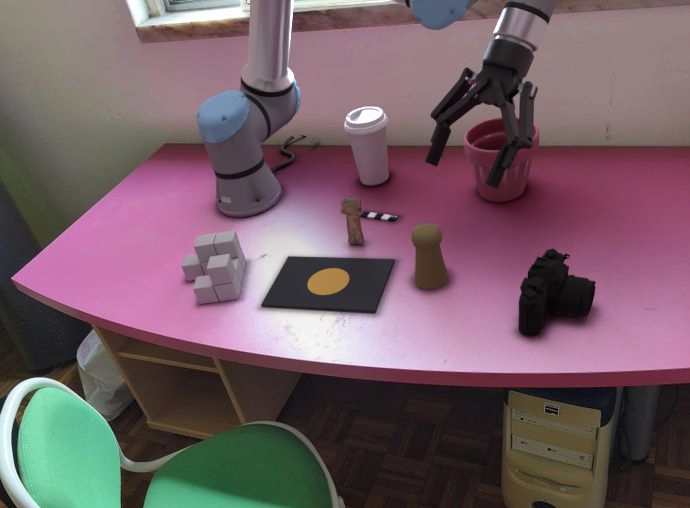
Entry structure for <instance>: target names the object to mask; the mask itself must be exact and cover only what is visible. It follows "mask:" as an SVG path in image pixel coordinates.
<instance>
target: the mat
mask: <svg viewBox="0 0 690 508" xmlns="http://www.w3.org/2000/svg"><path fill="white" fill-rule="evenodd" d="M394 264H395V258H373V257H372V258H369V257H367V258H366V257H330V256H329V257H328V256H295V255H294V256H293V255H291V256H290V255H289V256H287V258H286V260H285V261H284V263H283V264H282V267H281V268H280V270H279V272H278V274H277V276H276V277H275V279H274V281H273V283H272V284H271V286H270V287H269V290H268V292H267V293H266V295H265V297H264V299H263V300H262V302H261V303H260V304H261V308H273V309H274V308H275V309H293V310H310V311H311V310H312V311H326V312H328V311H330V312H346V313H363V314H375V313H376V312H377V310H378V307H379V304H380V302H381V299H382V296H383V295H384V290H385V288H386V285H387V282H388V280H389V277H390V275H391V272H392V269H393V266H394Z"/></svg>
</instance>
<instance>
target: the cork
mask: <svg viewBox="0 0 690 508" xmlns="http://www.w3.org/2000/svg"><path fill="white" fill-rule="evenodd" d="M442 240H443V233H442V229H441V228H440V227H439V226H438V225H437V224H435V223H432V222H425V223H421V224H418V225H416V226H415V227H414V228H413V229H412V231H411V242H412V245H413V247H414V248H415V258H414V284H415V286H416V287H418V288H420V289H422V290H425V291H426V290H427V291H431V290H432V291H433V290H437V289H441V288H442V287H444V286H445V285H446V284H447V282H448V281H449V275H448V271H447V267H446V263H445V260H444V259H445V258H444V255H443V251H442V247H441V242H442Z"/></svg>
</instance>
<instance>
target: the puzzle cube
mask: <svg viewBox="0 0 690 508" xmlns="http://www.w3.org/2000/svg"><path fill="white" fill-rule="evenodd" d="M193 249H194V252H195V253H190V254H185V255H184V257H183V260H182V262H181V266H180V267H181V269H182V272H183V274H184V276H185V279H186V280H187V282H191V281H192V282H193V281H194V284H193V288H192V290H193V293H194V295H195V297H196V299H197V302H198V304H199V305H203V304H210V303H211V304H212V303H218V302H225V301H232V300H239V299H240V295H241V291H242V286H243V281H244V276H245V272H246V271H245V270H246V267H247V260H246V256H245V254H244V251H243V249H242V245H241V242H240V239H239V236H238V234H237V230H235V229H232V230H224V231H219V232H212V233H211V232H210V233H205V234H200V235H199V234H198V235H197V236H196V238H195V241H194V244H193Z"/></svg>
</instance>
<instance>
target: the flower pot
mask: <svg viewBox="0 0 690 508" xmlns="http://www.w3.org/2000/svg"><path fill="white" fill-rule="evenodd" d="M516 120H517V124H518V129H519V116H516ZM506 143H507V138H506V134H505V129H504V124H503V119H502V116H497V117H491V118H488V119H485V120H482V121H479V122H477V123H475V124H473V125H472V126H470V127H469V128H468V129H467V130H466V132H465V133H464V135H463V144H464V145H463V146H464V148H463V149H464V155H465V158H466V160H467V161H468V162H469V163H470V165H471V168H472V169H471V170H472V172H473V175H474V179H475V183H476V185H477V188H478V192H479V194H480V196H481V197H482V198H483V199H484V200H487V201H489V202H495V203H502V202H510V201H512V200H515V199H517V198H518V197H520V196H521V195H522V194H523V193H524V192H525V188H526V185H527V182H528V178H529V174H530V170H531V167H532V162H533V158H534V157H535V155H536V154H537V153H538V151H539V150H540V149H539V148H540V128H539V126H538V124H537V123H535V122H534V125H533V146H532V148H530V149H527V148H524V149H520V150H519V151H518V152H517V155H516V157H515V159H514V162H513V164H512V166H511V168H510V169H506V170H505V173H504V175H503V177H502V179H501V182H500V184H499V186H498V189H496V188H494V187H491V186H489V185H487V184H485V183H486V181H487V178H488V176H489V174H490V171H491V169H492V167H493V164H494V162H495V160H496V157H497V155H498V153H499V150H500V148H501V146H502V144H503V145H506V146H508V145H507V144H506Z"/></svg>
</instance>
